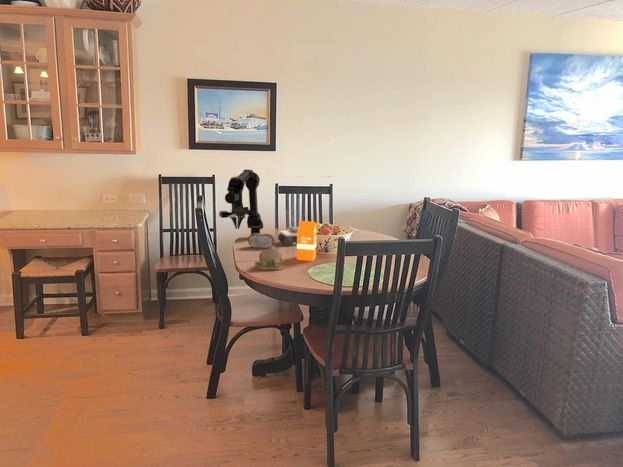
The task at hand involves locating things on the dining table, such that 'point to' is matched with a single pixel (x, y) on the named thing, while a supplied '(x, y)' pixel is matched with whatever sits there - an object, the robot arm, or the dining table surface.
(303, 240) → the orange juice
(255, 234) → the tin
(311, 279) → the dining table surface
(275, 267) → the ceramic model
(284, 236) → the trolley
